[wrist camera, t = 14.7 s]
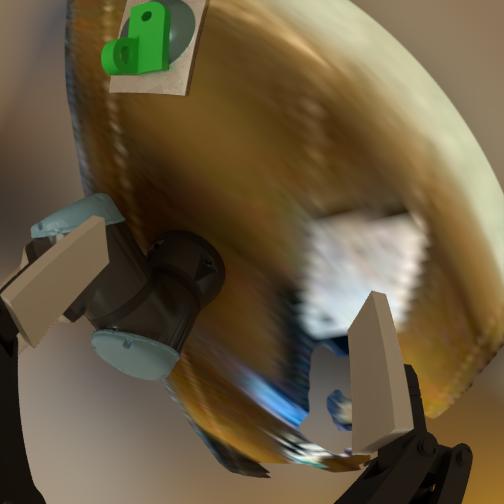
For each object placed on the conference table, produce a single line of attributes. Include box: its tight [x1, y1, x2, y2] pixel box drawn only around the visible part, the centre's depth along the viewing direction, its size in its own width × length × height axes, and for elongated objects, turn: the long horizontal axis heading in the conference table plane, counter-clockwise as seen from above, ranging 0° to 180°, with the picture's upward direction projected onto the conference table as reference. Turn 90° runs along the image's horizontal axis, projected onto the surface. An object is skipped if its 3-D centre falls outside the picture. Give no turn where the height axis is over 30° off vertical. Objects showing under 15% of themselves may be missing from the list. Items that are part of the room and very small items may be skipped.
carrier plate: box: [109, 0, 209, 96], centre depth 28 cm, size 20×14×1 cm
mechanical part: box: [101, 2, 171, 76], centre depth 24 cm, size 12×6×8 cm, turn 178°
